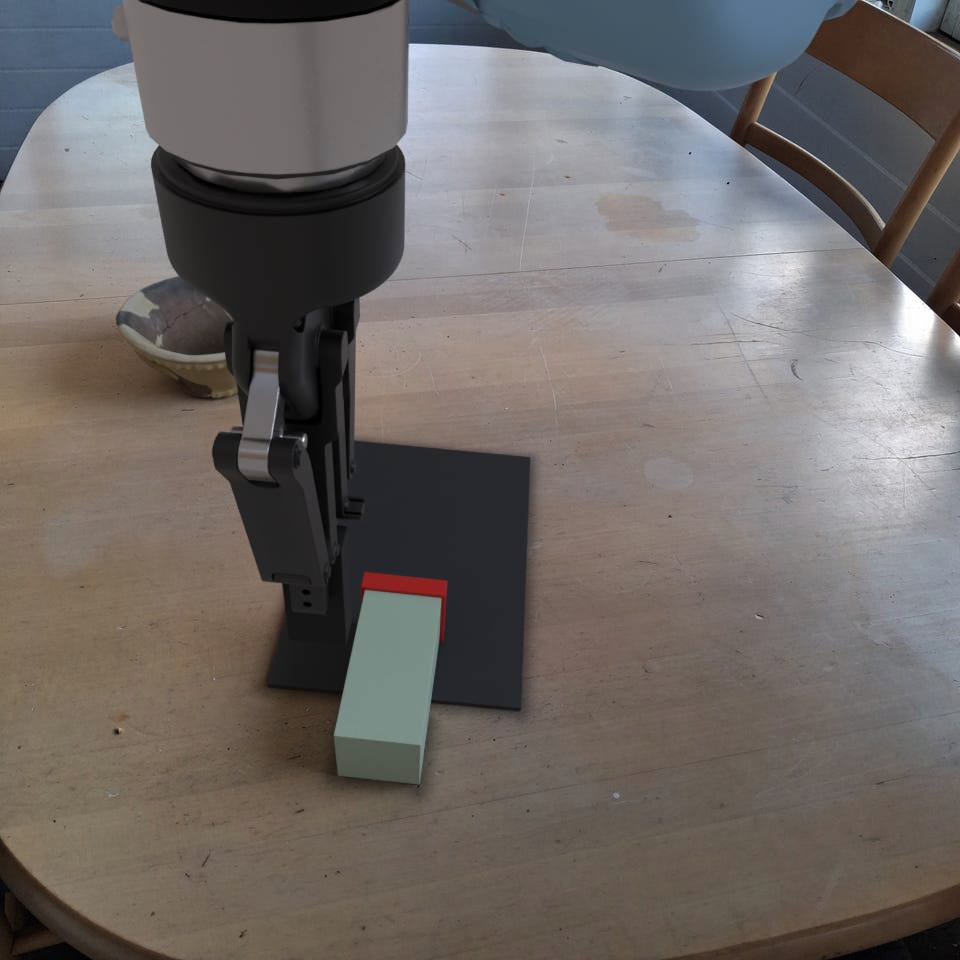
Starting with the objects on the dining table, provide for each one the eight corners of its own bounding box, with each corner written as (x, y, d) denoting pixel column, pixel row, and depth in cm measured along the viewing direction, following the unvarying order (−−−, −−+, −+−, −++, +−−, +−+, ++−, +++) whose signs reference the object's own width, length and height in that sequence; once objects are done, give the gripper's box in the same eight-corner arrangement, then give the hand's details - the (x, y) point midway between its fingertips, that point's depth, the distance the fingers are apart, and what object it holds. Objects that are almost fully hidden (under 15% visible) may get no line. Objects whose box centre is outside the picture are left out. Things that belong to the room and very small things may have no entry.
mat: (520, 710, 71) (521, 708, 71) (267, 686, 71) (267, 684, 71) (529, 459, 93) (530, 456, 93) (336, 441, 93) (336, 438, 93)
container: (425, 743, 61) (447, 580, 71) (328, 733, 61) (364, 571, 71) (423, 787, 66) (444, 628, 76) (334, 777, 66) (366, 620, 76)
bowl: (322, 350, 105) (317, 277, 98) (260, 447, 92) (250, 370, 85) (180, 323, 107) (167, 250, 100) (100, 414, 94) (78, 336, 87)
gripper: (215, 55, 32) (274, 525, 48) (65, 230, 22) (202, 744, 38) (428, 75, 32) (415, 538, 48) (370, 259, 22) (379, 761, 38)
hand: (320, 629), depth 43 cm, fingers closed
